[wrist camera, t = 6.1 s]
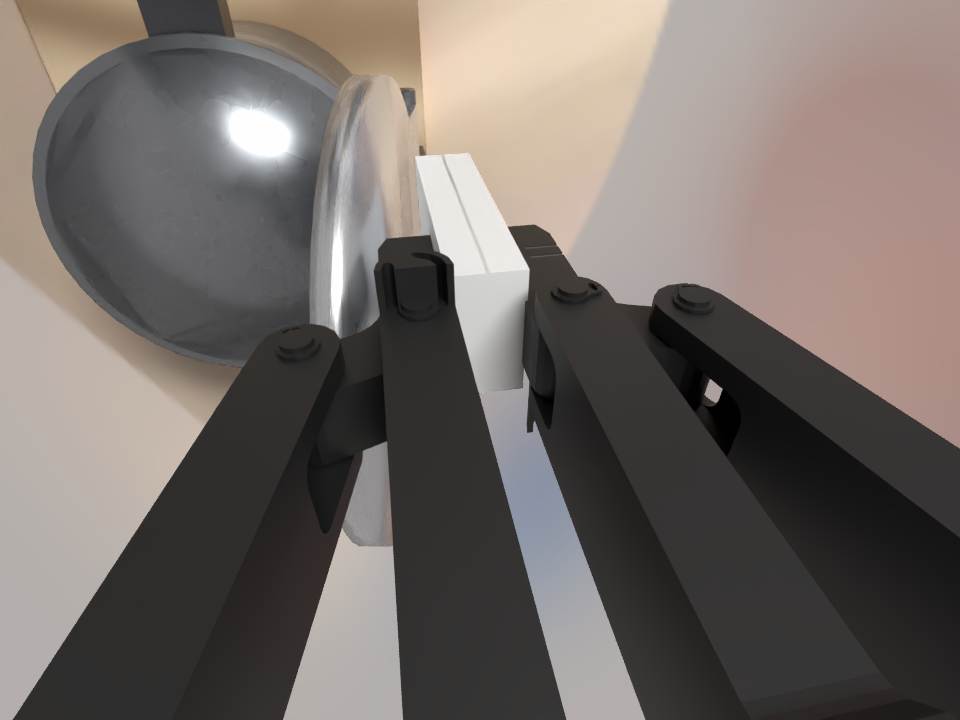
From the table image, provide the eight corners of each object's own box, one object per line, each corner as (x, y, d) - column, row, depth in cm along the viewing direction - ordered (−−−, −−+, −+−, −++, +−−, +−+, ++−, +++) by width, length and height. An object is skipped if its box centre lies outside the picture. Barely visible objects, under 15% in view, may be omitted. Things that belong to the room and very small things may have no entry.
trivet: (-4, -60, 23) (-11, -60, 23) (413, -59, 26) (414, -59, 25) (163, 324, 35) (161, 328, 35) (434, 298, 38) (435, 303, 37)
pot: (29, -63, 23) (-115, -67, 16) (399, -62, 25) (415, -64, 18) (205, 372, 37) (171, 470, 30) (428, 348, 40) (443, 434, 33)
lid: (244, 177, 8) (423, 178, 8) (391, 36, 20) (462, 37, 20) (369, 640, 17) (452, 641, 17) (418, 349, 28) (466, 349, 28)
